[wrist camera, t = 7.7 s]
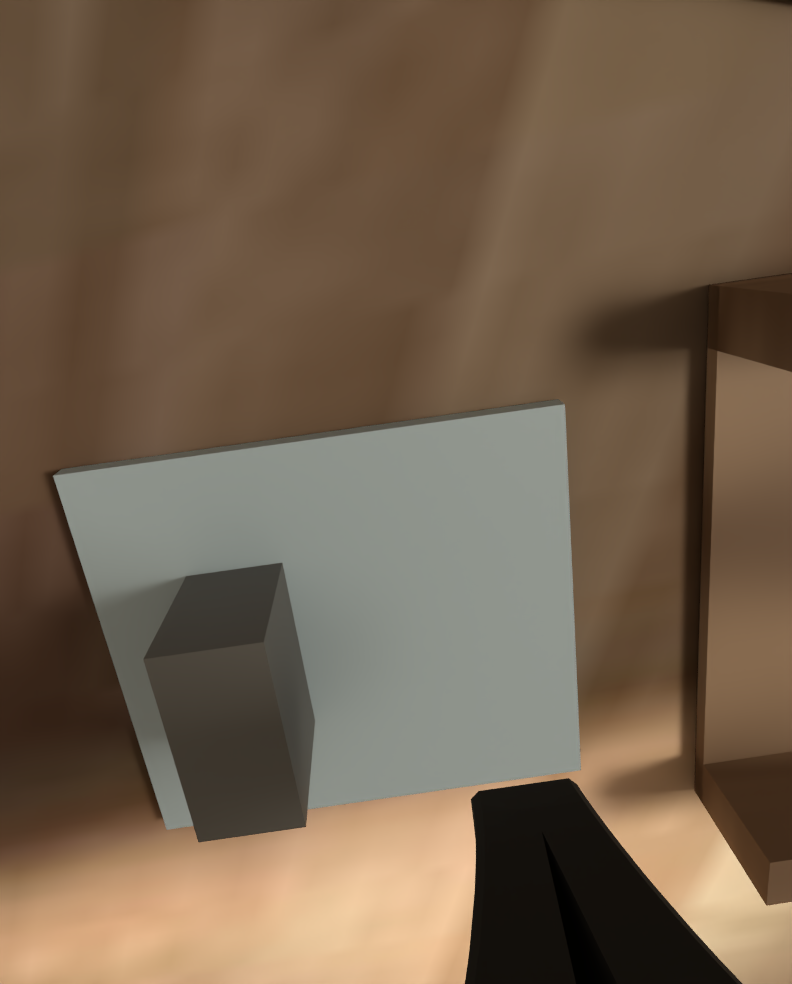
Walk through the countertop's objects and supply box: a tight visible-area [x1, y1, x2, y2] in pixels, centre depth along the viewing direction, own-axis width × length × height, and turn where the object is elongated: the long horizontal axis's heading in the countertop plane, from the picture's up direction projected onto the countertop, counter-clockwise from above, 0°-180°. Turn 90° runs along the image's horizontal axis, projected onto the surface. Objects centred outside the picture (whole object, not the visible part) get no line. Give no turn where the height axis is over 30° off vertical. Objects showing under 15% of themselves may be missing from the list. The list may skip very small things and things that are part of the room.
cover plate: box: [53, 399, 581, 842], centre depth 14 cm, size 9×10×4 cm
